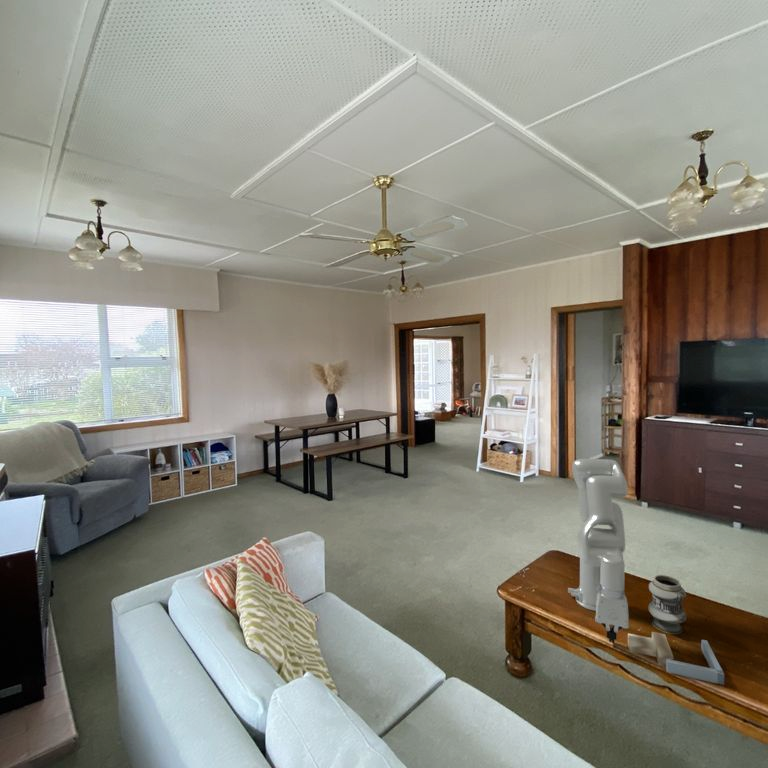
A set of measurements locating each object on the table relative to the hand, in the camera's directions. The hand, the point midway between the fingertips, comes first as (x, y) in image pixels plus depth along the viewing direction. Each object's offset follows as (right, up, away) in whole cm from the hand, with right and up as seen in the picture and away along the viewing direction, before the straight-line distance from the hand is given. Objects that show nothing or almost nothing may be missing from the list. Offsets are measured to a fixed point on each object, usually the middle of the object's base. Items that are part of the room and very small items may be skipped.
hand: (611, 640), depth 152 cm
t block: (+11, -2, -4) cm, 11 cm away
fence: (+21, -1, -9) cm, 23 cm away
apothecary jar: (+26, -1, +9) cm, 28 cm away
